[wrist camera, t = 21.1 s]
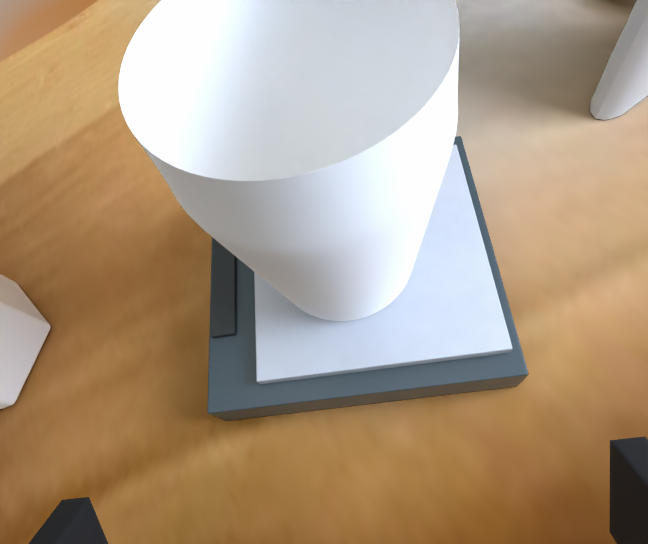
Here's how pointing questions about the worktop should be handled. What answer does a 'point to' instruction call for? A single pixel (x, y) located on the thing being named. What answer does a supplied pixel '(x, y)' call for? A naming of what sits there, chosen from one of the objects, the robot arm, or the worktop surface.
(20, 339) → the jar
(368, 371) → the scale
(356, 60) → the cup
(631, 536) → the robot arm
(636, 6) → the tall pale column
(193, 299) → the worktop surface
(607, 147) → the worktop surface
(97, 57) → the worktop surface
